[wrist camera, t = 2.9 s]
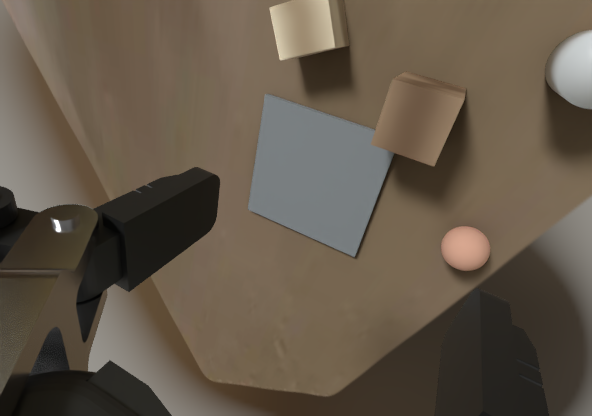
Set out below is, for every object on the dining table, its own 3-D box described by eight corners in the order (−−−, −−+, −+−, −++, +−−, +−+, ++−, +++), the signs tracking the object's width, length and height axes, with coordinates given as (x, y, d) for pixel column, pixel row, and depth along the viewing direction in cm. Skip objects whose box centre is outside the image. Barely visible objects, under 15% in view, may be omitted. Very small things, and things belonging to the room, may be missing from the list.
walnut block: (466, 88, 28) (464, 99, 23) (440, 145, 31) (434, 166, 26) (406, 71, 29) (392, 78, 24) (386, 127, 32) (370, 144, 27)
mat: (400, 138, 32) (398, 139, 31) (356, 254, 39) (354, 257, 38) (267, 93, 35) (265, 94, 35) (250, 207, 43) (247, 209, 42)
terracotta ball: (497, 229, 31) (500, 251, 28) (477, 262, 33) (477, 286, 30) (453, 212, 32) (450, 232, 29) (436, 245, 34) (431, 267, 31)
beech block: (343, -6, 29) (326, -11, 26) (349, 45, 30) (335, 47, 27) (290, 10, 31) (269, 7, 28) (299, 57, 33) (279, 60, 29)
